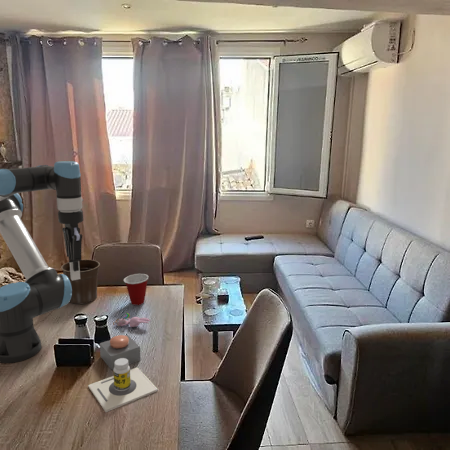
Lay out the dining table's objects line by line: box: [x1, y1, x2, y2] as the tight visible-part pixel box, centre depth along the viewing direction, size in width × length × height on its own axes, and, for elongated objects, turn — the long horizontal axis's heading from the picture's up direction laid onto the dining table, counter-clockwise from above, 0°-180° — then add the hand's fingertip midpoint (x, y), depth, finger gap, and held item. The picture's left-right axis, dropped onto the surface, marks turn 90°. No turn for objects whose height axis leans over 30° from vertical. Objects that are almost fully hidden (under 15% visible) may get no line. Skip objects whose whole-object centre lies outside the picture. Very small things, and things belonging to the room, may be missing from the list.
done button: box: [109, 334, 129, 349], centre depth 137 cm, size 6×6×5 cm
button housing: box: [99, 334, 141, 371], centre depth 137 cm, size 10×10×5 cm
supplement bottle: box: [112, 358, 131, 391], centre depth 121 cm, size 5×5×8 cm
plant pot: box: [60, 259, 101, 305], centre depth 183 cm, size 16×16×16 cm
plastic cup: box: [123, 273, 149, 306], centre depth 180 cm, size 11×11×12 cm
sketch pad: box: [87, 366, 159, 413], centre depth 122 cm, size 16×14×1 cm
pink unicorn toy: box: [112, 312, 151, 328], centre depth 159 cm, size 6×6×15 cm
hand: (75, 279), depth 136 cm, fingers closed
